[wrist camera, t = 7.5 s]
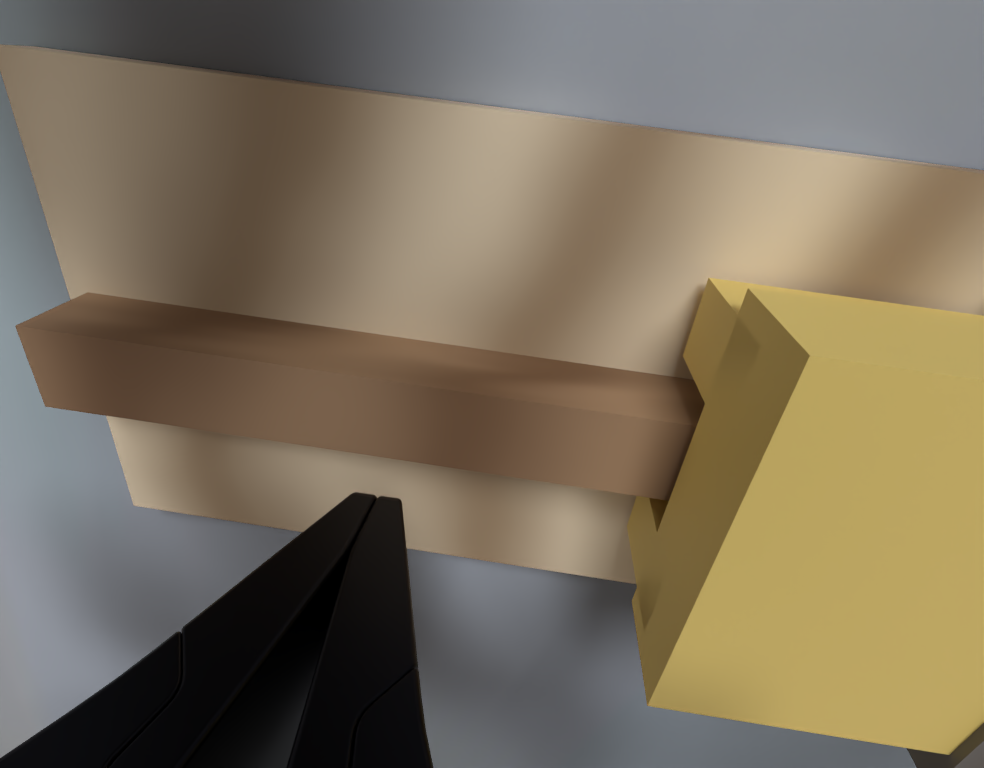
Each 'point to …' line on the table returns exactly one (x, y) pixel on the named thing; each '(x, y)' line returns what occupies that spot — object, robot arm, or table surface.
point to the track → (429, 294)
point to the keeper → (822, 522)
